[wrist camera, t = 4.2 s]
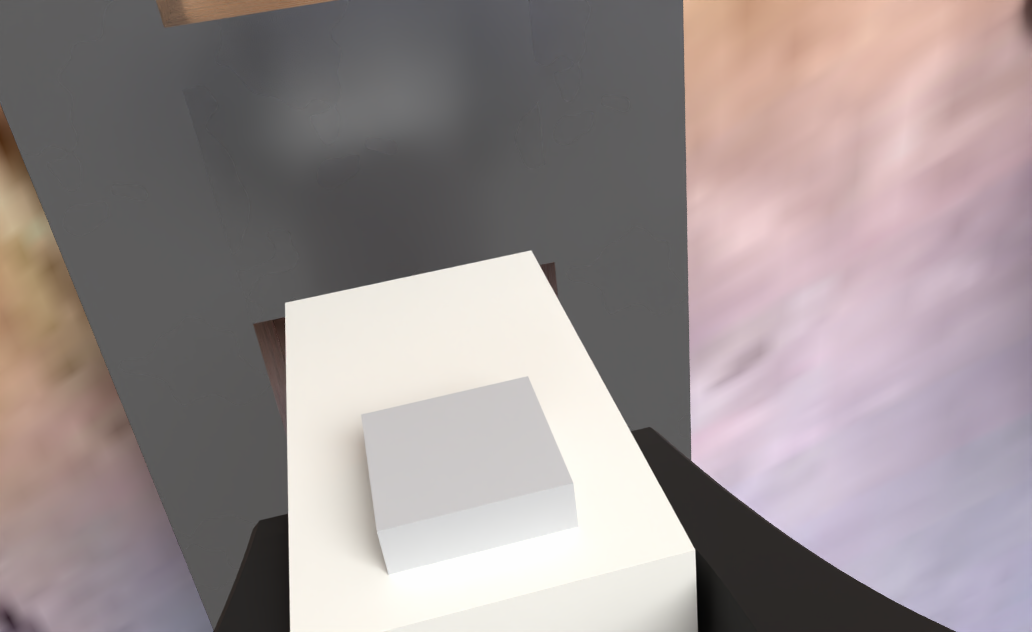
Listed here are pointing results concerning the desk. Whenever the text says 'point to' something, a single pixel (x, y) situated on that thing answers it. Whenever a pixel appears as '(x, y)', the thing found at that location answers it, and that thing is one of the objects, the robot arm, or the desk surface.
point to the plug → (468, 467)
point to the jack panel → (342, 199)
